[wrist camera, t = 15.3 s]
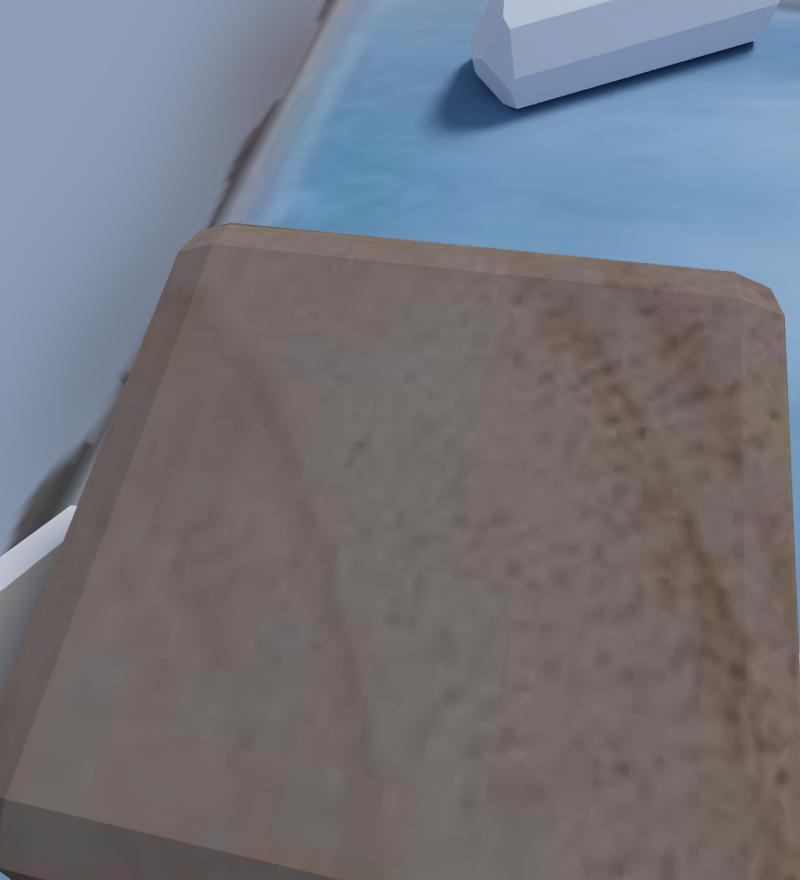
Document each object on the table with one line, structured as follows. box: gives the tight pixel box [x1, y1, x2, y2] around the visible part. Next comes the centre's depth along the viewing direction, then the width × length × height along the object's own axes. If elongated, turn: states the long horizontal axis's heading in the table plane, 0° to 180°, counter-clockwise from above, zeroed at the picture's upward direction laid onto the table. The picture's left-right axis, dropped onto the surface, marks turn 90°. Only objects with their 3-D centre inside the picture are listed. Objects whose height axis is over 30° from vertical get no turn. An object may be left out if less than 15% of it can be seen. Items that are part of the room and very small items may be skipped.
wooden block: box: [0, 223, 800, 880], centre depth 18 cm, size 10×10×20 cm
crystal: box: [471, 0, 779, 109], centre depth 51 cm, size 7×7×24 cm
